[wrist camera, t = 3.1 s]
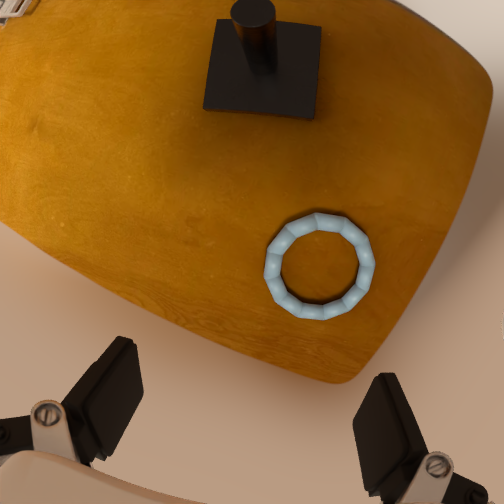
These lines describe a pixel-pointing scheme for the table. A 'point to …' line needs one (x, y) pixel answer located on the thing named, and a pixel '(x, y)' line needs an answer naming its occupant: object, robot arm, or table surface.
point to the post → (263, 64)
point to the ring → (304, 227)
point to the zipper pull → (11, 9)
